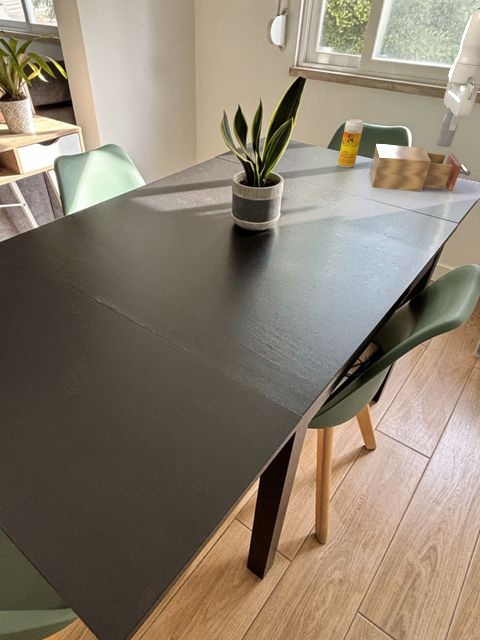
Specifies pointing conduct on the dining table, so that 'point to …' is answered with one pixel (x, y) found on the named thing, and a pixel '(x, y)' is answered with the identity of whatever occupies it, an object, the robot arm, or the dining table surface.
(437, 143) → the grey cylindrical tube
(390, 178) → the cabinet
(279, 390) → the dining table surface
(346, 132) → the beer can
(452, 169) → the drawer
